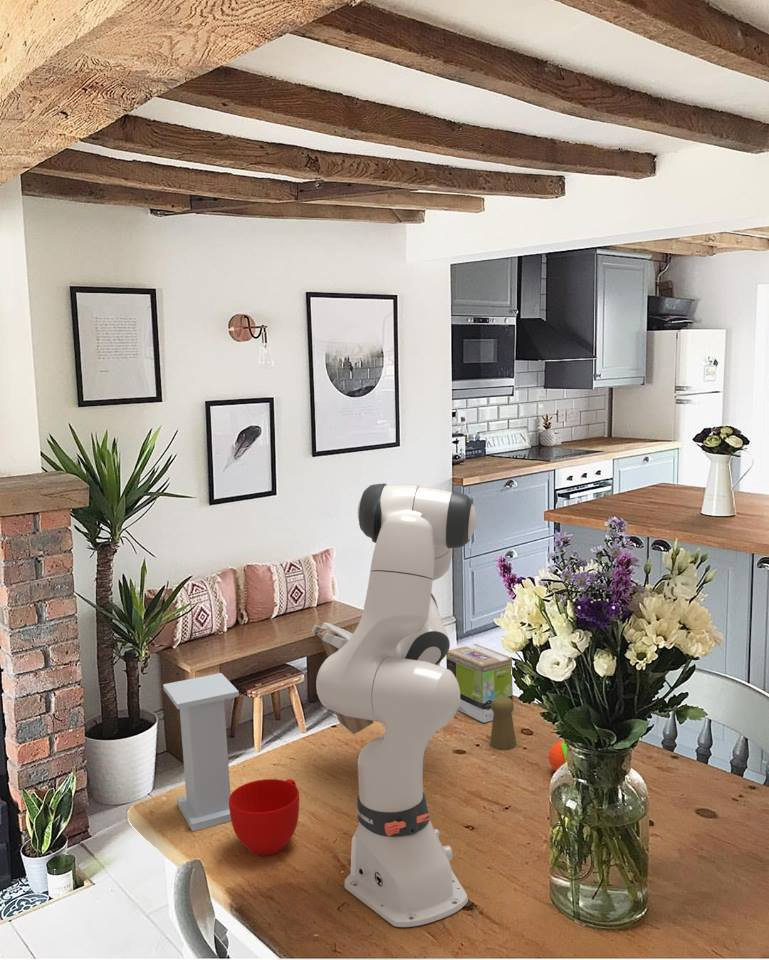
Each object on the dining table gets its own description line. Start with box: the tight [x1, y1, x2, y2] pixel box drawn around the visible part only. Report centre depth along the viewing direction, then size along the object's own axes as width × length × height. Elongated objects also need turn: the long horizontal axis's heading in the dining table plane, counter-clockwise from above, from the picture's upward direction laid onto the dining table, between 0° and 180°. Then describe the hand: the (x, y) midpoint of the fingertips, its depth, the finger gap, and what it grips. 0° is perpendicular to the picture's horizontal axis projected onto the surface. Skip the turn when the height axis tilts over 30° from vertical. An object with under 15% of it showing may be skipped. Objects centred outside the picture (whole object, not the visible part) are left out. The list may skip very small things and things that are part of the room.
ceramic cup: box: [229, 778, 300, 856], centre depth 168 cm, size 13×17×10 cm
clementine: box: [548, 740, 567, 772], centre depth 189 cm, size 8×7×7 cm
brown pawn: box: [489, 696, 517, 751], centre depth 204 cm, size 6×6×11 cm
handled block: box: [319, 628, 375, 735], centre depth 190 cm, size 8×22×5 cm
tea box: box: [445, 643, 514, 723], centre depth 224 cm, size 15×10×15 cm, turn 32°
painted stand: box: [162, 672, 240, 832], centre depth 178 cm, size 12×12×26 cm
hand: (319, 632), depth 187 cm, fingers closed on handled block, 4 cm apart
